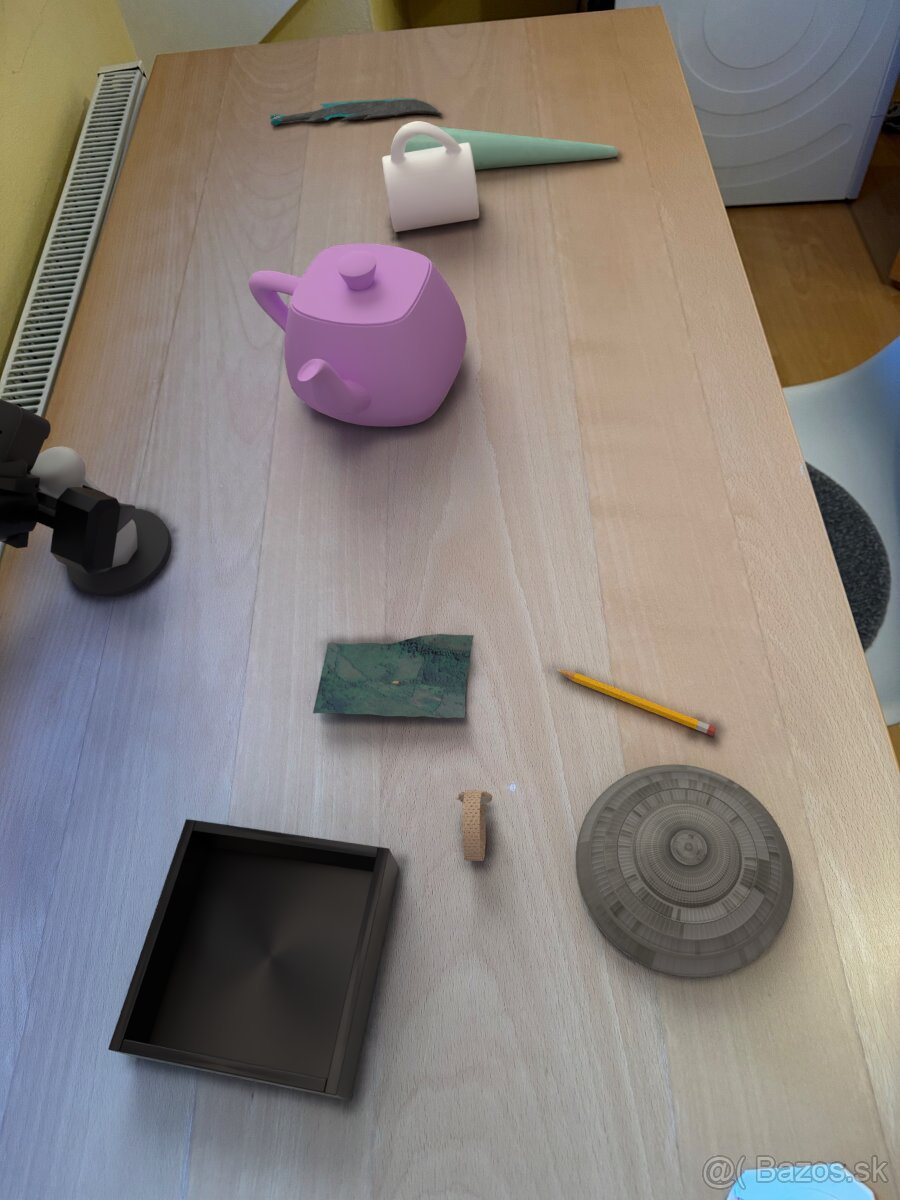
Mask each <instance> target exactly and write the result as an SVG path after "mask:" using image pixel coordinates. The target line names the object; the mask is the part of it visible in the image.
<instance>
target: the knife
mask: <svg viewBox="0 0 900 1200" xmlns="http://www.w3.org/2000/svg"><path fill="white" fill-rule="evenodd" d="M319 105H320V106H322V108H321V109H317V110H313V111H308V112H299V113H294V114H288V115H283V114H278V113H274V114H275V116H274V115H273V114H271V115H270V117H269V119H270V121H271V122H270V123H271V124H272V125H273V126H274V127H277V126H278V125H280V124H283V123H288V122H295V121H305V122H319V123H320V122H325V121H329V120H330V119H333V118H339V117H343V118H342V119H341V120H340V122H343V121H353V120H354V121H355V120H356V121H357V120H364V121H365V120H369V119H374V118H386V117H387V118H388V117H393V116H394V117H396V116H402V115H408V114H409V115H410V114H419V115H422V114H423V115H428V114H429V115H436V116H437V115H438V116H440V115H443V113H442V112H441V111H439V110H438V109H437V108H435V107H434V106H432V105H431V104H430V103H427V102H425V101H422V100H420V99H416V98H390V99H388V98H387V99H372V100H371V99H370V100H367V99H366V100H353V101H351V100H349V101H340V102H339V101H338V102H326V103H320V104H319ZM276 116H281V117H280V118H277V119H273V118H274V117H276Z"/></svg>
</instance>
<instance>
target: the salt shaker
mask: <svg viewBox="0 0 900 1200" xmlns="http://www.w3.org/2000/svg"><path fill="white" fill-rule="evenodd" d="M30 474H32V475H35V476H38V477H40V484H39V488H40V489H41V491H43V492H45V493H48V494H50V495H53V496H55V497H58V498H59V497H60V495H61V494H62V493H63V492H64V491H65V490H66V489H67V488H68V487H83V485H85V486H88V487H90V488H93V489H96V490H98V491H101V492H103V493H106V492H105V491H104V490H102V488H100V487H99V486H98V484H96V483H95V481H93V480H92V479H91V478H90V477H89V476H88V475H87V470H86V463H85V461H84V460H83V458H82V457H81V456H80V455H79V454H78V453H77V452H76V451H75V450H74V449H73V448H71V447H67V446H63V445H62V446H53V447H50V448H47V449H45V450H43V451H41V452H40V453H39V455H38V457H37V460H36V462H35V464H34V467H33V468H32V470H31V471H30ZM136 550H137V531H136V525H135V522H134V521H133V520H131V521H130V522H129V523H128V524H127V525H126V526H125V527H123V528H122V529H121V530H120V531H119V532H118V533H117V538H116V545H115V552H114V558H113V565H112V568H113V567H116V566H119V565H123V564H126V563H128V561H129V560H130V558H131V557H132V555H133V554H134V553H135V551H136Z"/></svg>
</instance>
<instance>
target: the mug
mask: <svg viewBox="0 0 900 1200" xmlns="http://www.w3.org/2000/svg"><path fill="white" fill-rule="evenodd" d="M403 125H404V126H403V127H402V128H401V127H400V128H399V129H398V130H397V132H396V133H395V135H394V136H393V139H392V142H391V147H390V154H389V155H383V156H382V157H381V163H382V172H383V178H384V187H385V194H386V199H387V204H388V209H389V216H390V220H391V225H392V229H393V232H395V233H398V232H405V231H410V230H417V229H423V228H429V227H434V226H442V225H449V224H453V223H459V222H465V221H472V220H478V219H479V217H480V204H479V194H478V184H477V177H476V170H475V169H474V162H473V156H472V150H471V146H470V143H468V142H467V143H461V144H458V143H457V142H456V141H455V140H454V139H453V138H452V137H451V136H450V135H449V134H447V133H446V132H445V131H443V130H442V129H440V128H438V127H439V126H436V125H435V124H433V123H430V122H426V121H422V120H421V121H420V120H415V121H411V122H410V121H409V122H408V123H406V124H403ZM416 135H426V136H429V137H432V138H434V139H435V140H437V141H438V142H440V143H441V144H442V145H443V147H437V148H431V149H425V150H419V151H412V152H406V153H404V152H405V147H406V144H407V142H408V141H409V139H410V138H412V137H414V136H416Z"/></svg>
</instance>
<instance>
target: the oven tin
mask: <svg viewBox="0 0 900 1200" xmlns="http://www.w3.org/2000/svg"><path fill="white" fill-rule="evenodd" d="M181 830H182V831H181V833H180V836H179V839H178V842H177V845H176V847H175V851H174V853H173V857H172V859H171V863H170V866H169V868H168V872H167V874H166V877H165V880H164V883H163V886H162V889H161V892H160V895H159V897H158V901H157V903H156V904H157V905H156V906H155V910H154V913H153V915H152V919H151V921H150V924H149V927H148V930H147V933H146V936H145V939H144V942H143V945H142V947H141V951H140V955H139V957H138V960H137V963H136V965H135V968H134V972H133V974H132V977H131V981H130V983H129V986H128V989H127V992H126V995H125V999H124V1000H123V1004H122V1007H121V1010H120V1012H119V1016H118V1019H117V1022H116V1025H115V1026H114V1031H113V1033H112V1037H111V1039H110V1042H109V1045H108V1051H111V1052H115V1053H119V1054H122V1055H124V1056H125V1055H126V1056H129V1057H132V1058H136V1059H142V1060H146V1061H151V1062H155V1063H160V1064H166V1065H171V1066H176V1067H181V1068H186V1069H190V1070H195V1071H201V1072H206V1073H211V1074H216V1075H220V1076H224V1077H229V1078H235V1079H240V1080H245V1081H250V1082H255V1083H260V1084H264V1085H268V1086H269V1085H270V1086H275V1087H280V1088H284V1089H290V1090H295V1091H299V1092H303V1093H309V1094H314V1095H319V1096H324V1097H329V1098H334V1099H339V1100H344V1101H349V1102H351V1101H352V1098H353V1094H354V1088H355V1084H356V1079H357V1074H358V1070H359V1069H358V1068H359V1064H360V1061H361V1060H360V1059H361V1054H362V1049H363V1044H364V1041H365V1034H366V1030H367V1025H368V1020H369V1015H370V1010H371V1006H372V1001H373V997H374V991H375V987H376V983H377V977H378V972H379V967H380V962H381V958H382V953H383V948H384V943H385V938H386V934H387V928H388V923H389V919H390V914H391V911H392V910H391V909H392V905H393V900H394V896H395V895H394V894H395V890H396V885H397V880H398V875H399V870H400V866H399V864H398V862H397V860H396V858H395V856H394V855H393V853H392V851H391V849H390V848H389V847H382V846H375V845H368V844H361V843H355V842H347V841H341V840H336V839H335V840H333V839H327V838H321V837H314V836H306V835H300V834H293V833H286V832H278V831H273V830H265V829H259V828H251V827H244V826H238V825H231V824H225V823H217V822H210V821H204V820H196V819H190V818H186V819H185V821H184V824H183V827H182V829H181Z"/></svg>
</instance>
